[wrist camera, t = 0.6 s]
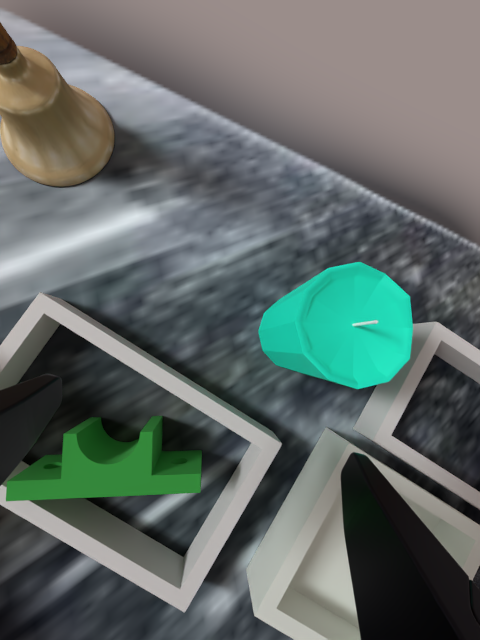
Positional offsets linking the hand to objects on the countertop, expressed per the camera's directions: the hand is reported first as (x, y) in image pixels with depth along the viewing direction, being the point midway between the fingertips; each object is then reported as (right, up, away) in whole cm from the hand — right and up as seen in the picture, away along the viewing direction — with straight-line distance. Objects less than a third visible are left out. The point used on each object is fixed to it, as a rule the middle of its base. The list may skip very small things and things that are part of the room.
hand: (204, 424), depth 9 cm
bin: (+10, -14, +15) cm, 22 cm away
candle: (+6, +2, +16) cm, 17 cm away
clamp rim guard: (-7, -5, +13) cm, 16 cm away
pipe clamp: (-7, -6, +14) cm, 17 cm away
